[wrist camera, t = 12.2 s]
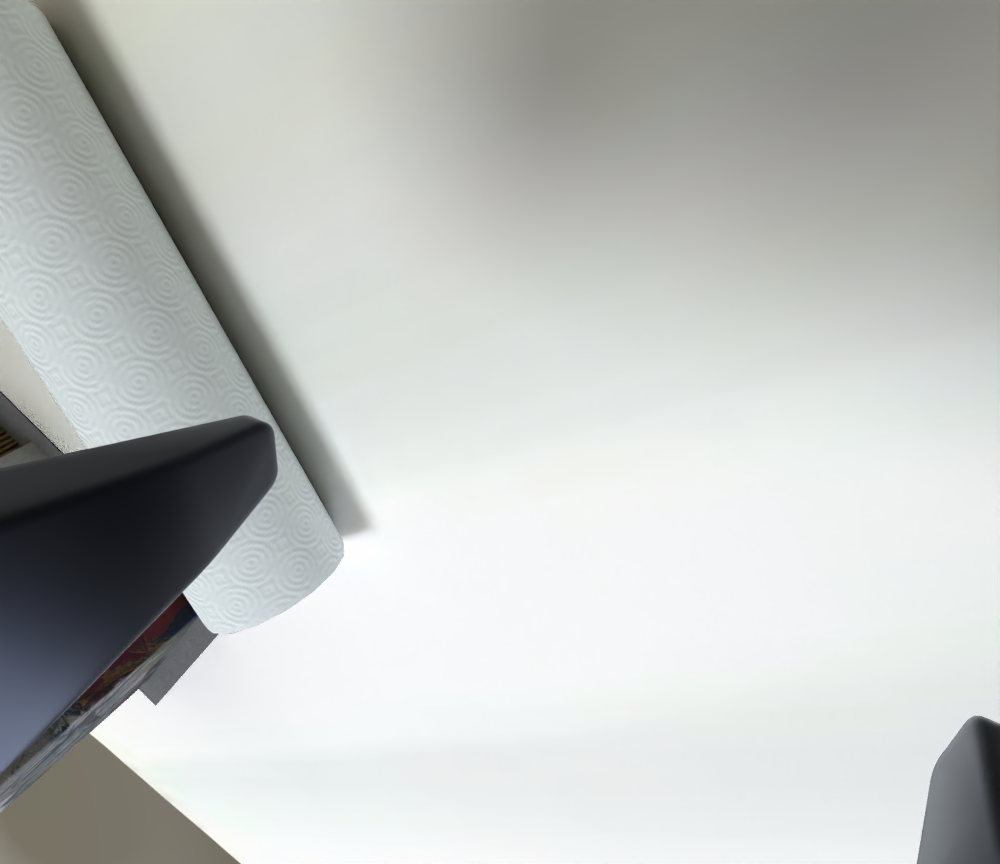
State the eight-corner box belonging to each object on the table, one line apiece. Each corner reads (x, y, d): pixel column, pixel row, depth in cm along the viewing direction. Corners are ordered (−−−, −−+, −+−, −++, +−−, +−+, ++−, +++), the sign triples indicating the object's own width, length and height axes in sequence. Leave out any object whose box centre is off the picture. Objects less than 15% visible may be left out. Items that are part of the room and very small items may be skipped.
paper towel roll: (334, 599, 26) (-42, -37, 20) (184, 661, 27) (-227, 63, 21) (363, 514, 33) (89, 19, 27) (243, 565, 34) (-53, 93, 28)
